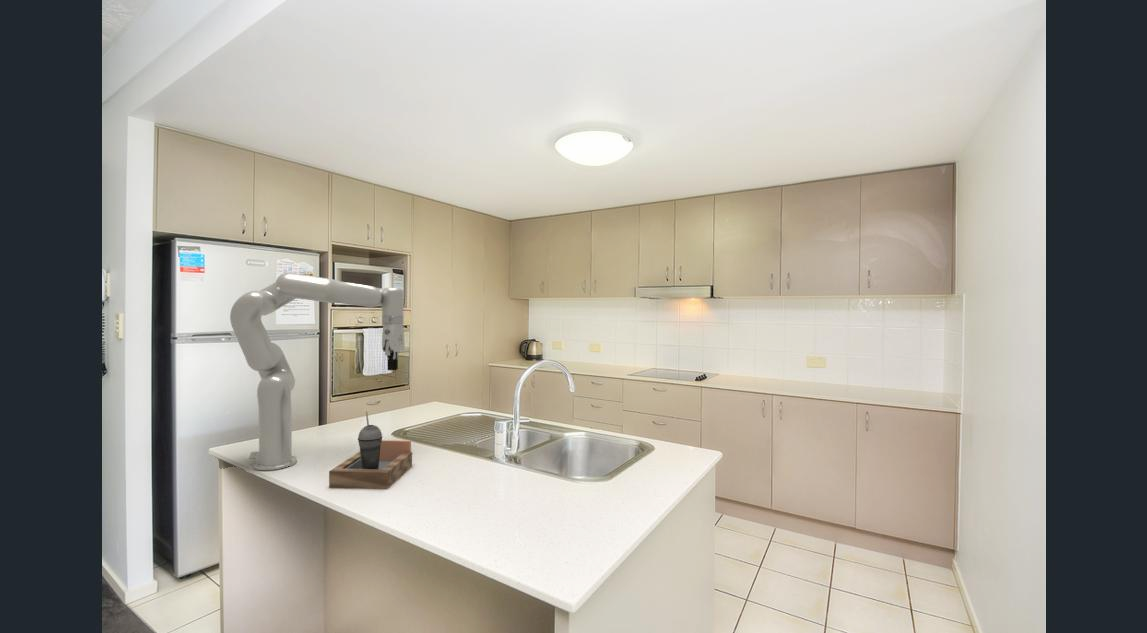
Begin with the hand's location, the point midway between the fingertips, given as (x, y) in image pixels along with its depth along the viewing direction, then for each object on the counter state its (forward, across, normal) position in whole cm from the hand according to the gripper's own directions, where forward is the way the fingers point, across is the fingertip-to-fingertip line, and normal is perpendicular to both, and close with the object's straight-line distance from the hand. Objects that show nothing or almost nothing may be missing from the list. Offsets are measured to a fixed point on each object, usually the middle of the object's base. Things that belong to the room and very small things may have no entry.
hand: (392, 369), depth 177 cm
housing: (+31, -25, -4) cm, 40 cm away
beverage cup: (+30, -26, -4) cm, 40 cm away
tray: (+31, -23, -4) cm, 39 cm away
